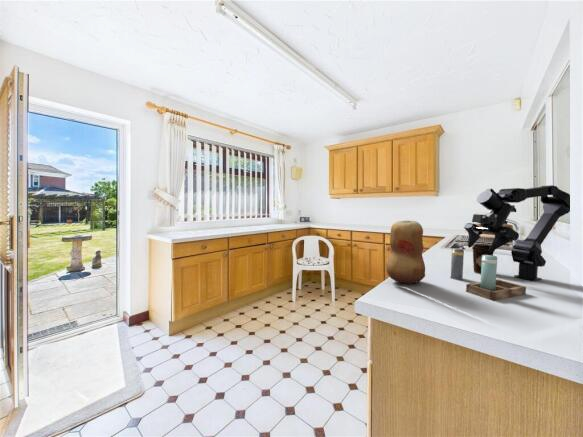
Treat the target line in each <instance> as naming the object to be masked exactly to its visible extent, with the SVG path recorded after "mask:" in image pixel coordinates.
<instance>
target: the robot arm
mask: <svg viewBox="0 0 583 437" xmlns="http://www.w3.org/2000/svg"><path fill="white" fill-rule="evenodd" d="M570 195H571V194H570V193H568V192H566V191H564V190H562V189H560V188H559V187H558V186H557V185H552V184H551V185H541V186H537V187H529V188H522V187H521V188H519V187H516V188H515V187H513V188H501V189H499V190H498V192H496V191H495V189H493V188H487V189H485V191H483V192H481V193H479V194H478V195H477V197H476V202H477V203H479V204H480V205H481V206H483V207H484V208H485V209H486V210H489V211H490V212H489V213H488V212H487V213H486V214H476V213H475V214H474V213H473V216H472V220H471V223H470V222H469V223H466V224H465V225H464V226H463V229H464V230H465V231H466V232H467V233H468V234H467V235H468V239H467V247H468V248H472V247H473V246H474V245H475V244H476V243H477V242H478V241H479V239H480V238H481V235H482V234H483V233H485V234H493V235H494V238H493V240H492V243H491V244H490V245H491V246H490V248H489V252H492V251H494V250H497V249H499V248H500V247H502V246H504V245H506V244H508V243H512V242H515V243H514V244H513V245H512V247H511V248H512V249H511V251H510V252H511V257H512V260H513V262H514V263H515V262H516V263H518V274H517V275H513V277H514V278H519V279H523V280H527V281H531V282H534V281H535V282H536V281H540V280H542V277H538V274H539V273H538V272H539V271H538V270H539V267H541V268H542V267H545V265H546V263H547V260H546V259H545V258H544V257H543V255H542V253H543V250H542V244H543V243H544V241H545V240H546V238H547V237H548V235H549V233H550V232H551V230H552V229H553V228H554V227H555V224H556V223H557V222H558V220H559V219H560V218H561V217H563V216H565V215H567V214H569V213H570V212H571V211H570ZM536 197H540V203H542V204H543V205H542V208H543V209H542V210H543V213H542V215H541V216H540V217H539V219H538V221H537V222H536V224H535V225H534V226H533V228H532V229H531V230H530V232H529V234H528V235H527V237H526V238H525V239H524V240H523V239H519V237H520V236H519V235H520V234H519V232H517V231H516V230H515V229H513V228H512V227H511V226H504V225H507V224H508V221H507V219H508V218H509V216H510V214H511V213H517V208H516V206H515V205H513V204H514V203H515V204H517V203H521V202H524V201H526V200H527V199H530V198H536ZM494 252H495V251H494Z"/></svg>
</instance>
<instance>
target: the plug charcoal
mask: <svg viewBox="0 0 583 437" xmlns="http://www.w3.org/2000/svg"><path fill="white" fill-rule="evenodd" d="M464 252H465V250H464V248H463V249H462V248H458V247H455V248H454V247H453V248H451V263H450V265H451V267H450V279H453V280H457V281H462V280H463V274H464V256H465V255H464V254H465V253H464Z"/></svg>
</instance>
